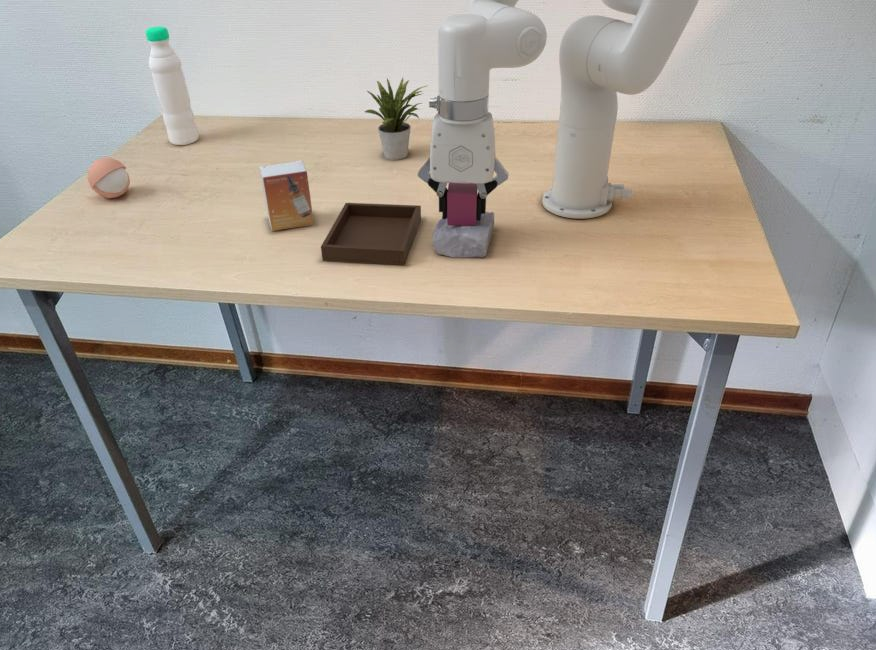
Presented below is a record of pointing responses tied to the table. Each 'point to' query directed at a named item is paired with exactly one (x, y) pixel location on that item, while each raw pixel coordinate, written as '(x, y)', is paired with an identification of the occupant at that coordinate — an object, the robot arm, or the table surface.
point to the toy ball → (108, 177)
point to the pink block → (462, 204)
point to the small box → (287, 195)
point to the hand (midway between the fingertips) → (462, 215)
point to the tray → (372, 234)
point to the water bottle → (171, 88)
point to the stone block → (464, 237)
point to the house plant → (394, 120)
